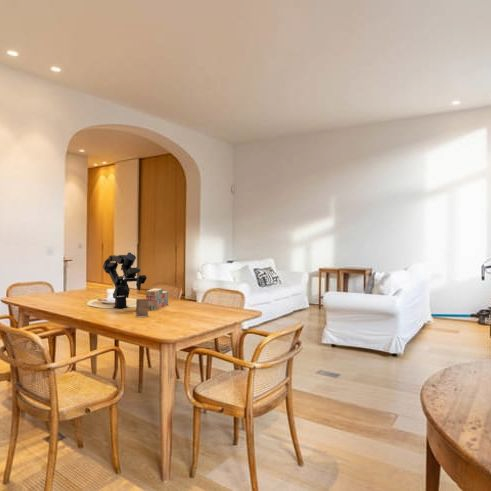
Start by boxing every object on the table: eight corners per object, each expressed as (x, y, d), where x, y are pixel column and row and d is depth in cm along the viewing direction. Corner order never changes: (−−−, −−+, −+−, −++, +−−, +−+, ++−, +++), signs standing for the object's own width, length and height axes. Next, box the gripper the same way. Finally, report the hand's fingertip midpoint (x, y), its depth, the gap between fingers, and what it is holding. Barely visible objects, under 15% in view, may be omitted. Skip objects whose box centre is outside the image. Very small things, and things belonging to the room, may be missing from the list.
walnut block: (136, 315, 228) (136, 298, 227) (144, 315, 231) (144, 298, 230) (139, 317, 224) (139, 300, 223) (147, 316, 227) (148, 299, 227)
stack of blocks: (159, 304, 268) (159, 286, 267) (168, 304, 267) (168, 286, 266) (145, 310, 247) (146, 290, 246) (155, 310, 246) (155, 291, 245)
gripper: (116, 263, 233) (123, 283, 225) (145, 262, 245) (153, 281, 237) (111, 274, 240) (118, 295, 231) (140, 273, 251) (147, 292, 243)
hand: (134, 290), depth 235 cm, fingers open, 6 cm apart
